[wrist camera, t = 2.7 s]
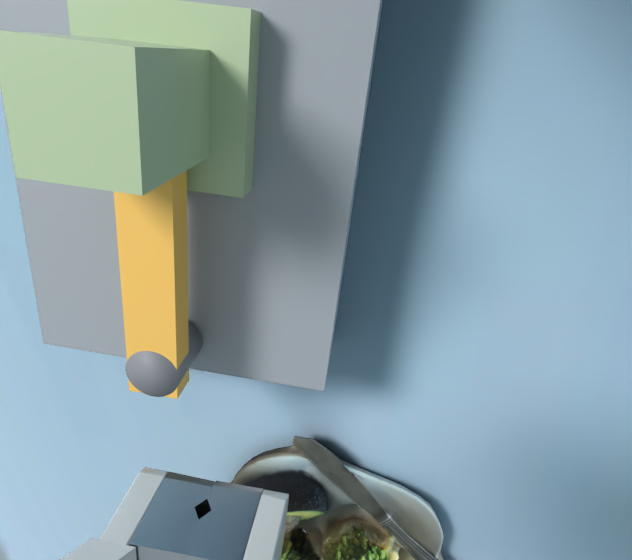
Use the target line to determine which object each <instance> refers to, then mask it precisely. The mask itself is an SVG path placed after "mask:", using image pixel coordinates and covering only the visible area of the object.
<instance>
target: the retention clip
mask: <svg viewBox="0 0 632 560" xmlns="http://www.w3.org/2000/svg"><path fill="white" fill-rule="evenodd" d="M114 204H115V216H116V229H117V242H118V254H119V267H120V279H121V292H122V304H123V317H124V330H125V342H126V355H127V363H126V374H127V377H128V380H129V390H130V391H136V392H141V393H145V394H147V395H150V396H155V397H162V396H164V397H170V398H176V399H178V397H179V396H180V394H181V392H182V391H183V389H184V387H185V386H186V384H187V382H188V381H189V368H190V366H191V364H192V363H193V361H194V360H195V358H196V356H197V355H198V353H199V352H200V350H201V348H202V343H203V341H202V336H201V333H200V331H199V330H198V328H197V327H196V326H195V325H194V324H193V323H191V322H190V321H188V240H187V170H186V171H185V172H183V173H181V174H179V175H178V176H176V177H174V178H172V179H171V180H169V181H167V182H166V183H164V184H162V185H160V186H159V187H157V188H155V189H153V190H152V191H150V192H148V193H146V194H145V195H143V196H141V195H134V194H127V193H120V192H114Z"/></svg>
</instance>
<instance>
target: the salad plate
mask: <svg viewBox="0 0 632 560" xmlns="http://www.w3.org/2000/svg"><path fill="white" fill-rule="evenodd" d="M231 483H232V484H238V485H244V486H249V487H255V488H261V489H264V490H269V491H275V492H280V493H286V494H289V500H288V509H287V517H286V526H285V534H284V540H283V547H282V553H281V560H444V559H443V557H442V555H441V548H442V543H443V537H444V534H443V530H442V527H441V524H440V522H439V520H438V518H437V516H436V514H435V512H434V509H433V507H432V506H431V505H430V504H429V503H428V502H427V501H425V500H424V499H423V498H422V497H420V496H419V495H417V494H416V493H414V492H412V491H410V490H409V489H407V488H406V487H404V486H402V485H400V484H397V483H395V482H393V481H390V480H388V479H386V478H383V477H381V476H378V475H375V474H373V473H371V472H369V471H366V470H364V469H362V468H359V467H357V466H355V465H352V464H350V463H348V462H346V461H344V460H342V459H339V458H338V457H337V456H336V455H335V454H334V453H332V452H331V451H330V450H329V449H327V448H325V447H324V446H322V445H321V444H320V443H318V442H317V441H315V440H314V439H310V438H304V437H298V436H295V437H294V441H293V445H292V446H289V447H283V448H277V449H273V450H270V451H266V452H263V453H261V454H259V455H257V456H255V457H253V458H252V459H251V460H250V461H248V462H247V463H246V464H245V465H244V466H243V467H242V468H241V469H240V470H239V472H238V473H237V474H236V476H235V478H234V480H233V481H232V482H231ZM357 505H359V506H360V507H358V506H357ZM302 529H304V530H305V531H306V532H307V533H305V532H303V531H302Z"/></svg>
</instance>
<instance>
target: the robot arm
mask: <svg viewBox="0 0 632 560" xmlns="http://www.w3.org/2000/svg"><path fill="white" fill-rule="evenodd" d="M288 500H289V494H286V493H280V492H275V491H269V490H264V489H261V488H255V487H249V486H244V485H238V484H232V483H226V482H220V481H216V482H214V481H210V480H205V479H200V478H196V477H191V476H186V475H182V474H177V473H172V472H167V471H162V470H157V469H152V468H147V467H145V468H144V469H143V470H142V471H141V472H140V473H138V475H137V477H136V478H135V480H134V482H133V483H132V485H131V487H130V488H129V490H128V492H127V494H126V495H125V497H124V499H123V500H122V502H121V504H120V505H119V507H118V509H117V510H116V512H115V514H114V515H113V517H112V519H111V520H110V522H109V524H108V525H107V527H106V529H105V531H104V532H103V534H102V536H101V537H100V539H94V538H91V539H90V540H88V541H87V542H85V543H84V544H82V545H81V546H79V547H78V548H76V549H75V550H73V551H72V552H70V553H69V554H67V555H66V556H64V557H63V558H61V559H60V560H281V553H282V547H283V540H284V534H285V526H286V517H287V509H288Z"/></svg>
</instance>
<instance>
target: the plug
mask: <svg viewBox="0 0 632 560" xmlns="http://www.w3.org/2000/svg"><path fill="white" fill-rule="evenodd" d="M67 5H68V15H69V24H70V34H71V35H63V34H49V33H34V32H20V31H6V30H0V86H1V92H2V98H3V104H4V110H5V116H6V122H7V128H8V134H9V140H10V146H11V152H12V157H13V163H14V169H15V175H16V178H23V179H30V180H37V181H44V182H51V183H58V184H65V185H72V186H79V187H86V188H93V189H99V190H106V191H113V192H120V193H127V194H134V195H141V196H143V195H145V194H146V193H148V192H150V191H152V190H153V189H155V188H157V187H159V186H160V185H162V184H164V183H166V182H167V181H169V180H171V179H172V178H174V177H176V176H178V175H179V174H181V173H183V172H185V171H186V170H187V190H190V191H197V192H204V193H211V194H218V195H225V196H232V197H239V198H244V197H245V196H246V195H247V194H248V193H249V192H250V191H251V190H252V181H253V160H254V140H255V120H256V100H257V79H258V59H259V39H260V19H261V12H259V11H256V10H253V9H249V8H241V7H232V6H223V5H214V4H205V3H197V2H188V1H179V0H67Z"/></svg>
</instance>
